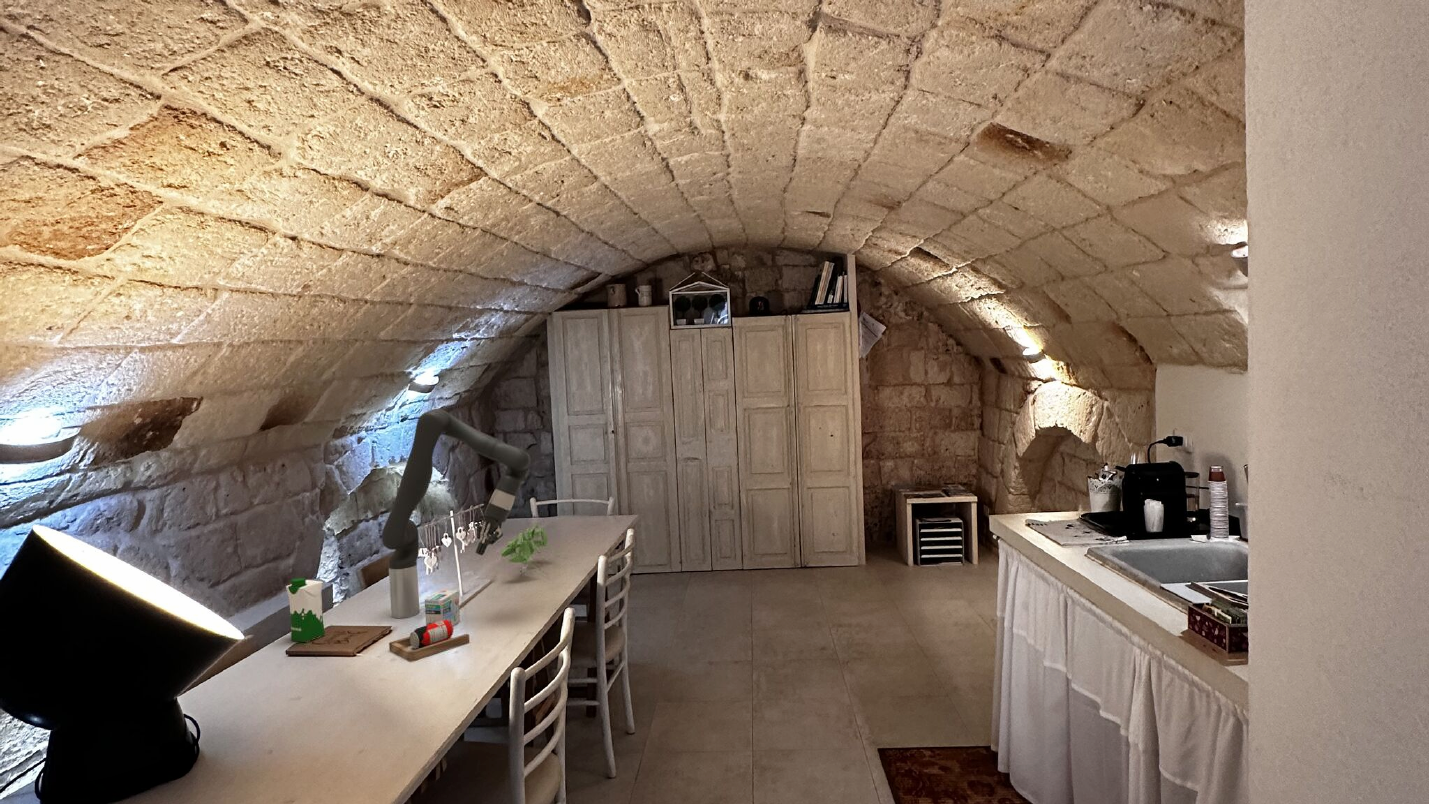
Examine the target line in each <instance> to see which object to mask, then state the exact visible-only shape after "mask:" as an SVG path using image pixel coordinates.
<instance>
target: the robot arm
mask: <svg viewBox="0 0 1429 804" xmlns="http://www.w3.org/2000/svg"><path fill="white" fill-rule="evenodd" d="M415 427H416V428H415V431H414V437H413V441H412V447H411V449H410V453H409V456H408V458H407V461H406V465H405V467H404V470H403V473H402V476H401V480H400V482H399V486H398V490H397V493H396V496H395V499H394V501H393V504H392V507H391V510H390V513H389V515H388V517H387V519H386V522H385V523H384V526H383V529H382V533H381V541H382V544H383V546H384V547H385V548H387V549H389V550H394V551H393V554H392V556H390V558H389V559H388V565H387V566H388V576H389V577H388V579H389V580H388V581H389V597H390V612H391V613H390V614H391V617H392V618H396V619H402V618H403V619H404V618H410V617H414V616H417V615H419V613H421V611H420V597H419V596H420V593H419V579H418V578H419V577H418V576H419V575H418V574H419V573H418V557H419V553H420V551H419V549H420V548H419V546H420V542H419V541H420V539H419V538H420V537H419V530H418V529H419V528H418V526H417V524H416V523H415V522H414V521H413V520H411V519H410V518H411V517H412V514H413V513H414V511H415V509H416V508H417V507H418V505H419V504H420V503H421V502H422V500H423V499H424V497H425V495H426V494H427V491H428V490H429V486H430V483H431V480H432V476H433V470H434V469H433V465H434V464H433V458H434V451H435V449H436V446H437V444H438V441H439V439H440V437H441V436H442V435H444V436H447V437H450V438H454V439H455V440H457V441H460V442H462V443H463V444H465V445H466V446H467V447H468V448H470V449H471V450H472V451H473V452H475V453H477V454H479V455H481V456H483V457H485V458H488V459H489V460H492V461H496V462H499V463H501V464H503V465H505V466H507V468H506V470H505V472H504V474H503V475H502V476H501V477H500V478H499V481H498V483H497V485H496V488H495V489H494V491H493V493H492V495H491V497H490V499H489V501H488V504H487V506H486V509H485V510H484V516H485V517H484V518H483V519H482V520H483V521H482V522H477V523H476V539H477V540H478V545H477V547H476V549H475V554H477V555H479V556H483V555H484V554H485V552H486V549H487V547H488V546H489V545H494V544H495V543H496V542H497V541H499V540H500V539H501V538H502V537H503V536H504V532H501V531H502V530H501V529H502V524H503V523H505V522H507V519H508V517H509V514H510V513H511V510H512V507H513V505H514V502H515V498H516V497H517V494H518V491H519V489H520V486H521V484H522V481H523V480H524V479H525V477H526V475H527V473H528V471H529V469H530V467H531V463H532V458H531V456H530V453H528V452H526V451H525V450H523V449H521V448H518V447H515V446H514V445H510V444H508V443H506V442H505V441H504V442H503V441H502V440H500V439H498V438H495V437H494V436H491V435H489V434H486V433H484V432H482V431H480V430H477V429H476V428H474V427H472V426H470V425H468V424H466V423H465V422H463V421H461V420H460V419H458V418H456V417H455V416H454V415H453V414H450V413H449V412H447V411H446V410H444V409H441V408H435V409H431V410H428V411H425V412H424V413H422V414H421V415H420V416H419V418H418V420H417V422H416V426H415Z"/></svg>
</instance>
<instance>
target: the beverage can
mask: <svg viewBox="0 0 1429 804" xmlns="http://www.w3.org/2000/svg"><path fill="white" fill-rule="evenodd" d="M453 635H454V626H452V624H451V623H450V622H449V621H448V620H441V621H438V622H435V623H432V624H429V625H426V624H425V625H423V626H420V627H418V628H417V627H416V629H414V630H413V631H412V632H410V634H409V637H410V643H411V645H412V646H411V647H412V648H413V649H414V650H417V649H420V648H423V647H426V646H429V645H432V644H436V643H439V642H442V641H445V640H448V639H451V638H453Z"/></svg>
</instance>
